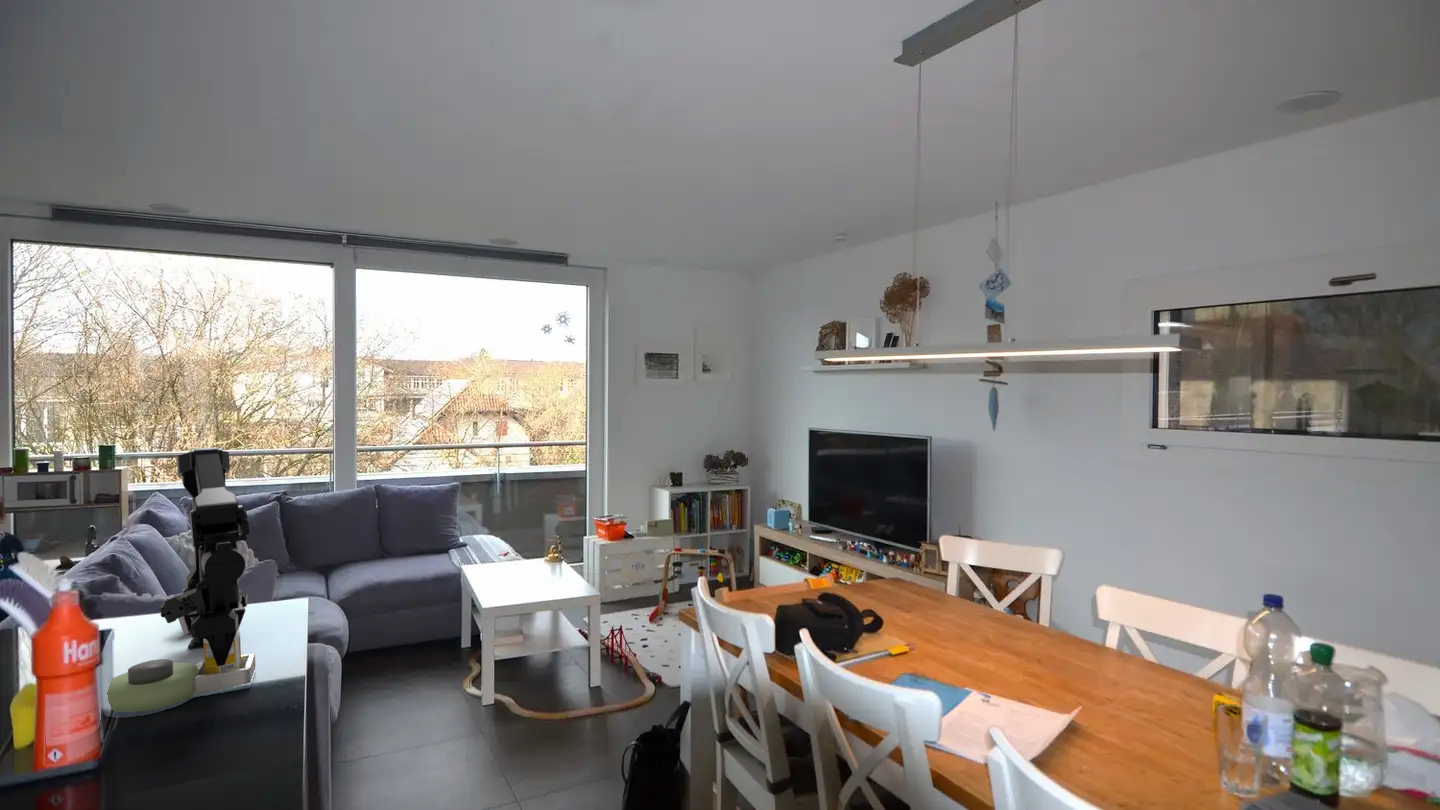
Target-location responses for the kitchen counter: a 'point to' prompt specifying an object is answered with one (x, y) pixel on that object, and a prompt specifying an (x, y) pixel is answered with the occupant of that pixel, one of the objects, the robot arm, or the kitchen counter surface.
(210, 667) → the supplement bottle
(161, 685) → the green base with knob
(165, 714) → the kitchen counter surface
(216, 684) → the white open tray
